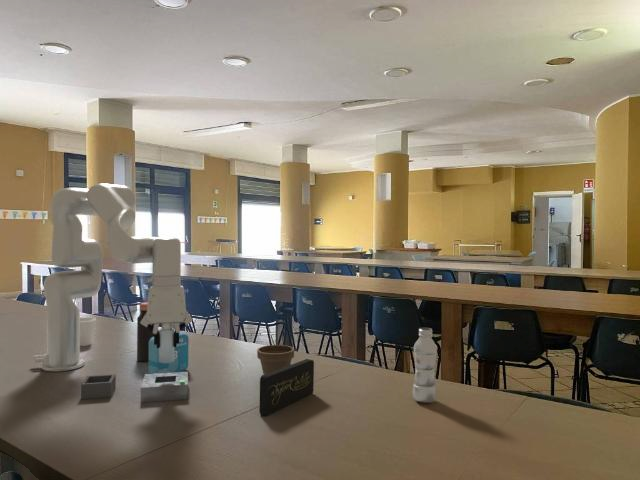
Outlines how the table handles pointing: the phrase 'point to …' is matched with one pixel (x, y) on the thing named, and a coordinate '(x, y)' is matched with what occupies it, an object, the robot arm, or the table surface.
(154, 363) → the data package
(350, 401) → the table surface
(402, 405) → the table surface
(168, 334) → the plug
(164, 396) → the port
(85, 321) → the dixie cup
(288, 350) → the flower pot
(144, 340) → the vinegar
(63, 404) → the table surface
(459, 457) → the table surface
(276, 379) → the nameplate
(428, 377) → the plastic bottle
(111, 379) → the grey open box
